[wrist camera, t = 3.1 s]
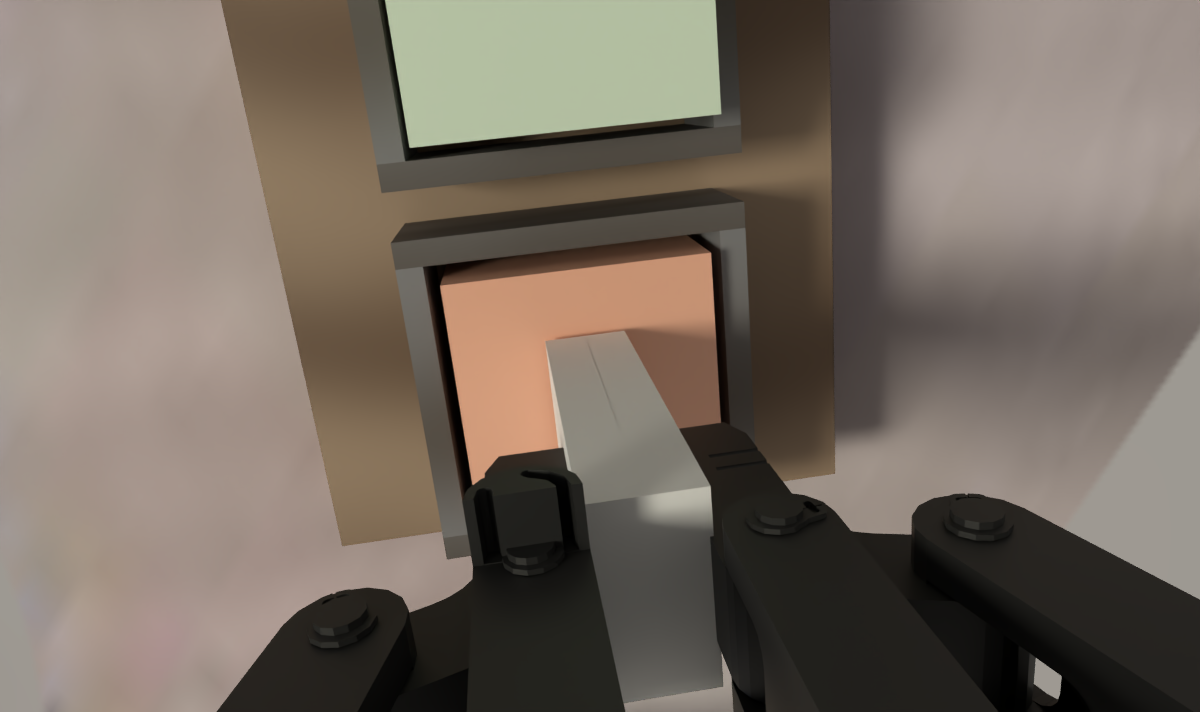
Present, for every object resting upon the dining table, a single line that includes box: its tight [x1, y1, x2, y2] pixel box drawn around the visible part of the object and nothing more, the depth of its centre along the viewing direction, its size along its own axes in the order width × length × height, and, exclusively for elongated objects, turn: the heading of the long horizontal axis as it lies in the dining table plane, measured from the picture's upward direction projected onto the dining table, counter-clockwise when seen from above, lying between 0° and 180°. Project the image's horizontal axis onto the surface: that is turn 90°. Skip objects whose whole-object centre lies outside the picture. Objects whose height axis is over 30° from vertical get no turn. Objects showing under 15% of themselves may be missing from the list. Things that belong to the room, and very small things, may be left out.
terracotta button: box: [440, 235, 721, 485], centre depth 17 cm, size 5×5×2 cm
